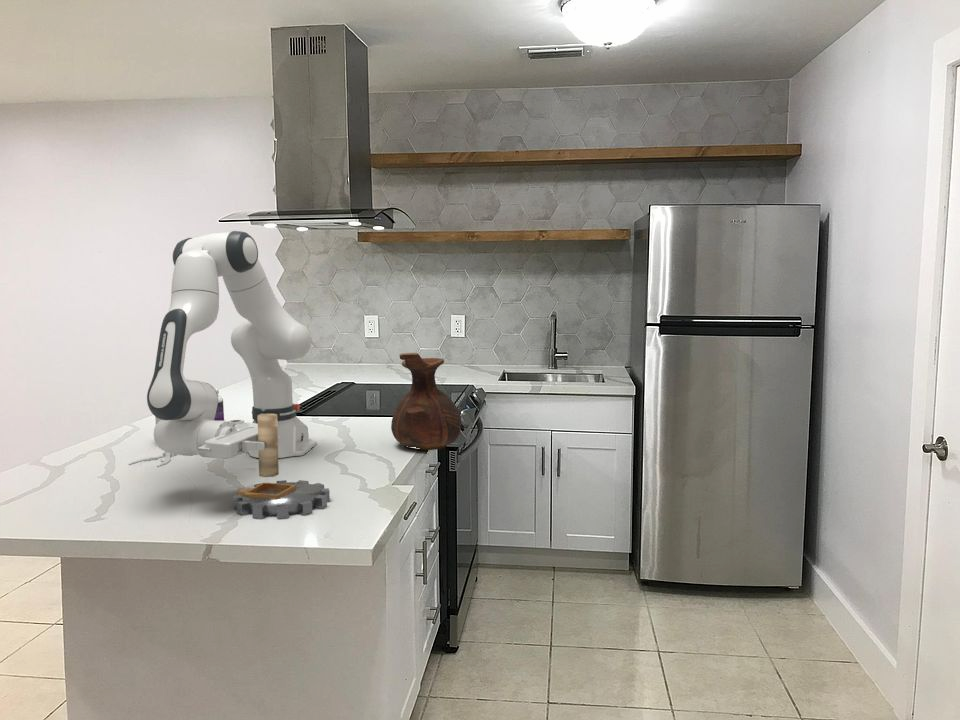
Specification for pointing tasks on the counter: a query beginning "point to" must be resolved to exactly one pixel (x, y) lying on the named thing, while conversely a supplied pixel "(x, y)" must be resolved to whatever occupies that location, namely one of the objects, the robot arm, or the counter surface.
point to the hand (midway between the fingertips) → (271, 443)
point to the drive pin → (268, 445)
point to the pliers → (165, 454)
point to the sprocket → (281, 499)
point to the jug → (425, 408)
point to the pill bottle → (219, 408)
